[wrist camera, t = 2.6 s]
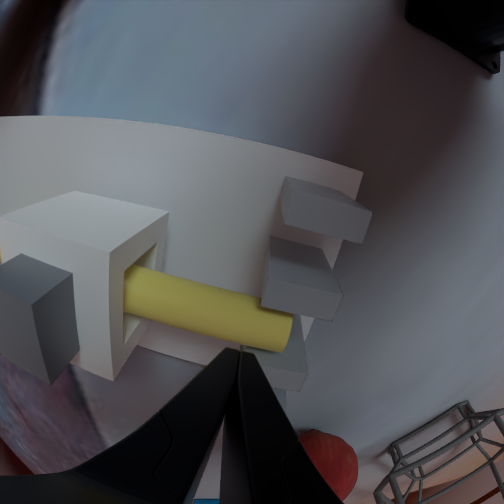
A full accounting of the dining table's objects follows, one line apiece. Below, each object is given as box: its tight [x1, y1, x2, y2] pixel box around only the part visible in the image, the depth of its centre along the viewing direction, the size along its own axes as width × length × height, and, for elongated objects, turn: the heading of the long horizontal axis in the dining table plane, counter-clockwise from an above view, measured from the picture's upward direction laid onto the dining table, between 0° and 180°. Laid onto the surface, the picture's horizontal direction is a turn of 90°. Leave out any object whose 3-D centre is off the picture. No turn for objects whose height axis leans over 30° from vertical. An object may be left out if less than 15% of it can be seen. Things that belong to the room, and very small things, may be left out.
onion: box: [298, 430, 358, 501], centre depth 15 cm, size 6×6×8 cm
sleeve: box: [0, 191, 169, 386], centre depth 9 cm, size 5×5×7 cm
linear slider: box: [0, 116, 373, 414], centre depth 12 cm, size 26×12×6 cm, turn 77°
